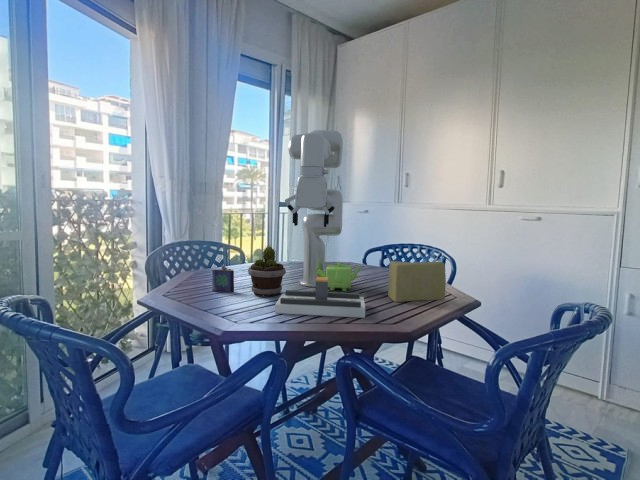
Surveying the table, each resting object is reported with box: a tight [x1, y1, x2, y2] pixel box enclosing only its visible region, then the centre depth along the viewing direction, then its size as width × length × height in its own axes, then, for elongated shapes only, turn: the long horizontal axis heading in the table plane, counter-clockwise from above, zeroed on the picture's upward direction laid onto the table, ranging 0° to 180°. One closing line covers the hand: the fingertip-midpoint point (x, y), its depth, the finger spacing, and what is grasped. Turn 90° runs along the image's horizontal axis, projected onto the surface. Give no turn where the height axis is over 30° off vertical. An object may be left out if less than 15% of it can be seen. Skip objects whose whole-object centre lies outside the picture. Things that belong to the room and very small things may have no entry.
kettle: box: [316, 262, 364, 292], centre depth 165 cm, size 15×14×11 cm
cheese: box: [387, 260, 447, 303], centre depth 152 cm, size 22×10×15 cm, turn 98°
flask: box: [211, 264, 235, 293], centre depth 155 cm, size 9×3×11 cm, turn 79°
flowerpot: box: [247, 244, 287, 297], centre depth 153 cm, size 14×15×20 cm
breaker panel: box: [274, 289, 366, 319], centre depth 135 cm, size 15×30×5 cm, turn 86°
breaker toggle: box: [315, 277, 329, 300], centre depth 135 cm, size 5×4×8 cm
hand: (310, 226), depth 126 cm, fingers open, 9 cm apart
